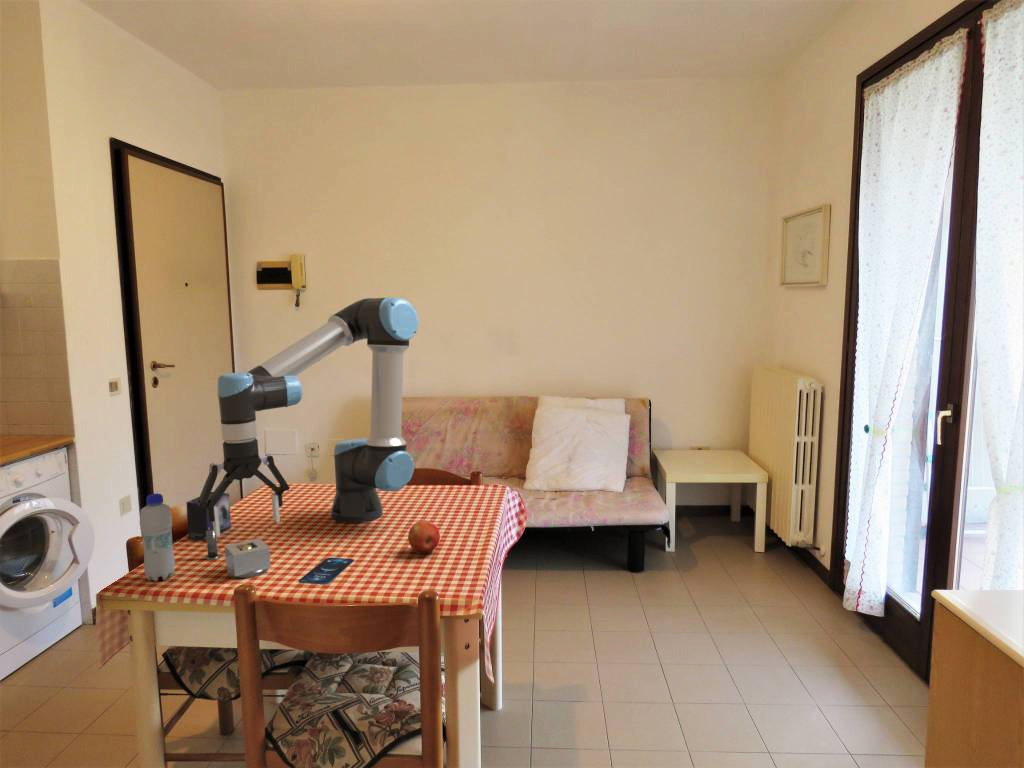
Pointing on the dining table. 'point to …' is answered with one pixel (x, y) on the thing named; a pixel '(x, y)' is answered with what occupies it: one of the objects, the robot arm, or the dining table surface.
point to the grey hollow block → (247, 557)
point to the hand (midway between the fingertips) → (247, 527)
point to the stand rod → (211, 545)
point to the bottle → (157, 538)
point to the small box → (199, 517)
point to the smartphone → (326, 571)
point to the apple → (423, 537)
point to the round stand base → (247, 573)
